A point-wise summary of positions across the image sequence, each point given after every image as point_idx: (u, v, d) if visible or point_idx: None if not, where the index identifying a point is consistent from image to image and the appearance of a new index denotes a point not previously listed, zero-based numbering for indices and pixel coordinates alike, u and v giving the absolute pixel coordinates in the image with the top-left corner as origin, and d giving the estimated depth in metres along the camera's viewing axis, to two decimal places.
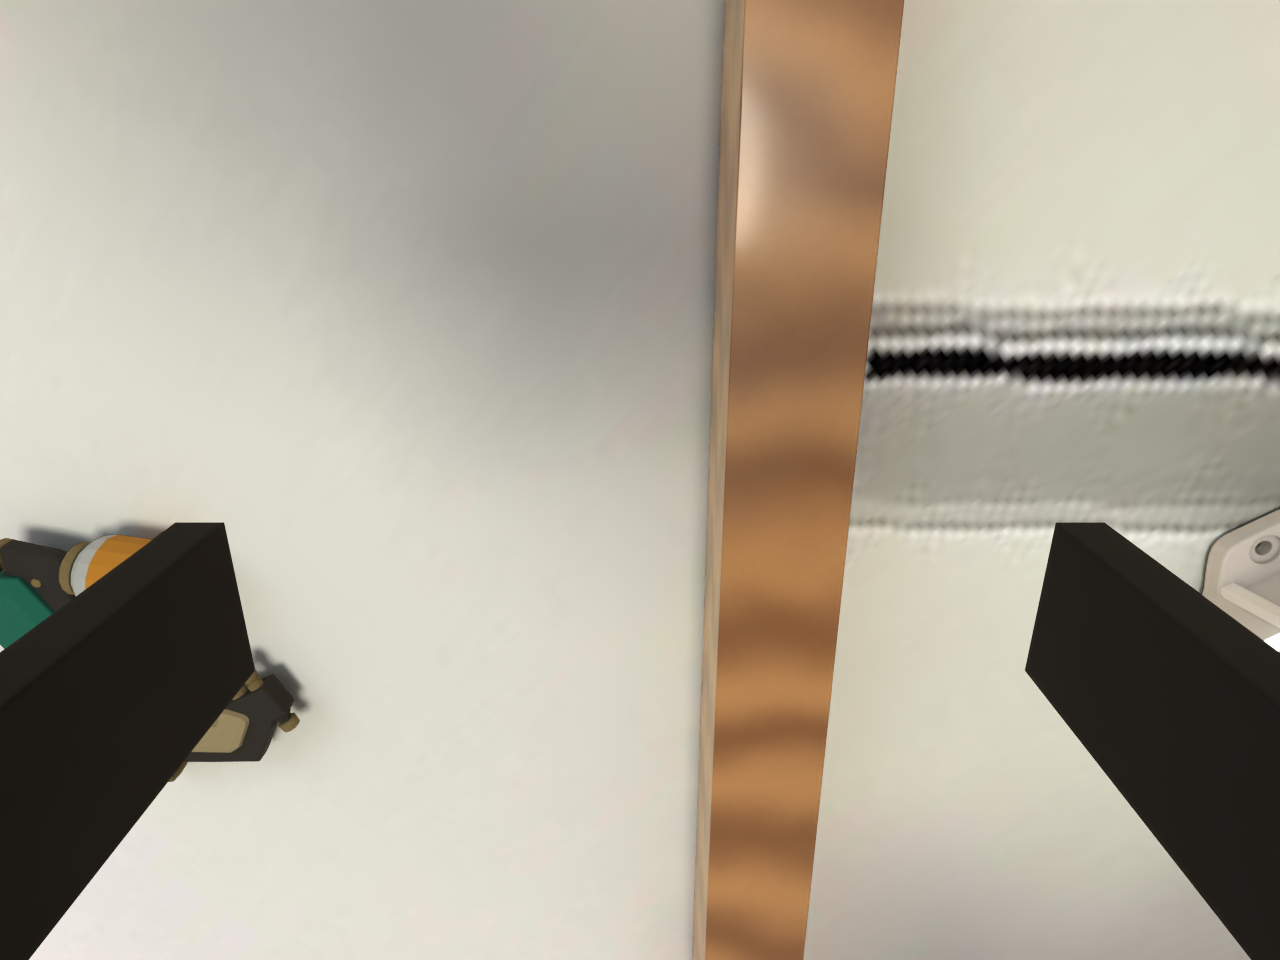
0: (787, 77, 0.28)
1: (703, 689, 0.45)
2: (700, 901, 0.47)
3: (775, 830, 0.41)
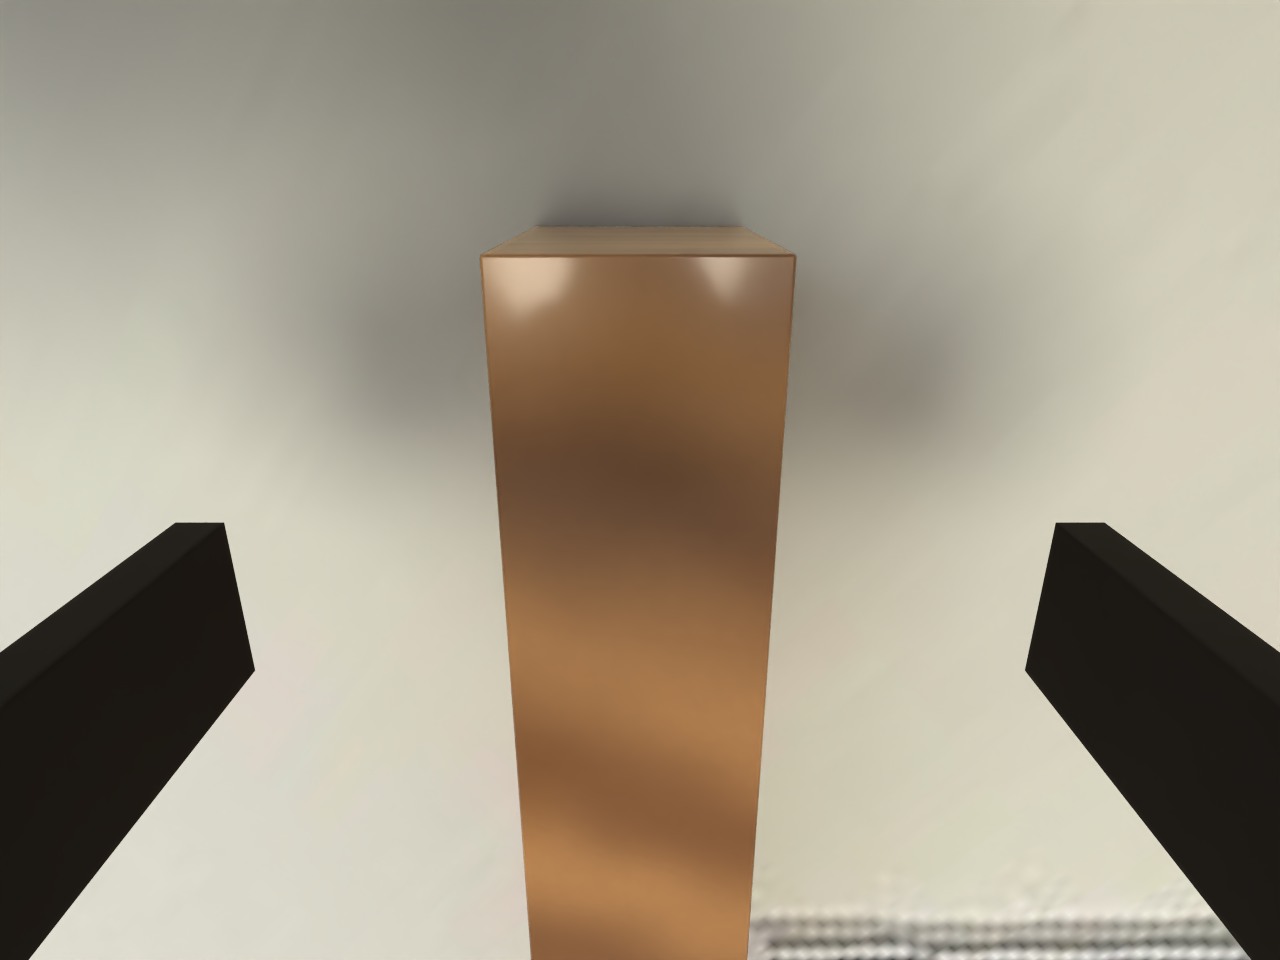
0: (593, 920, 0.20)
1: None
2: None
3: None
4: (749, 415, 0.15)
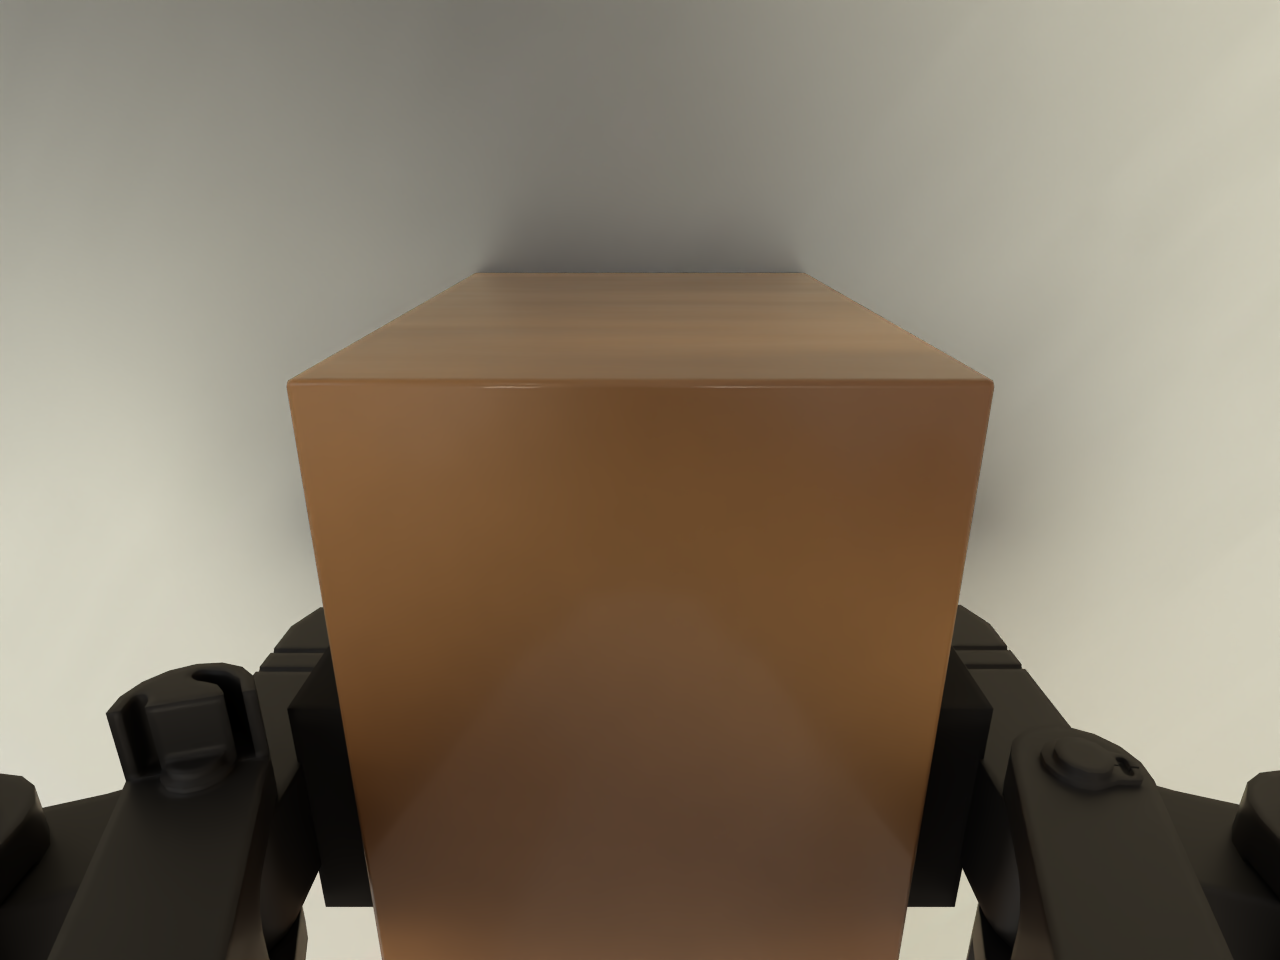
0: None
1: None
2: None
3: None
4: (869, 694, 0.07)
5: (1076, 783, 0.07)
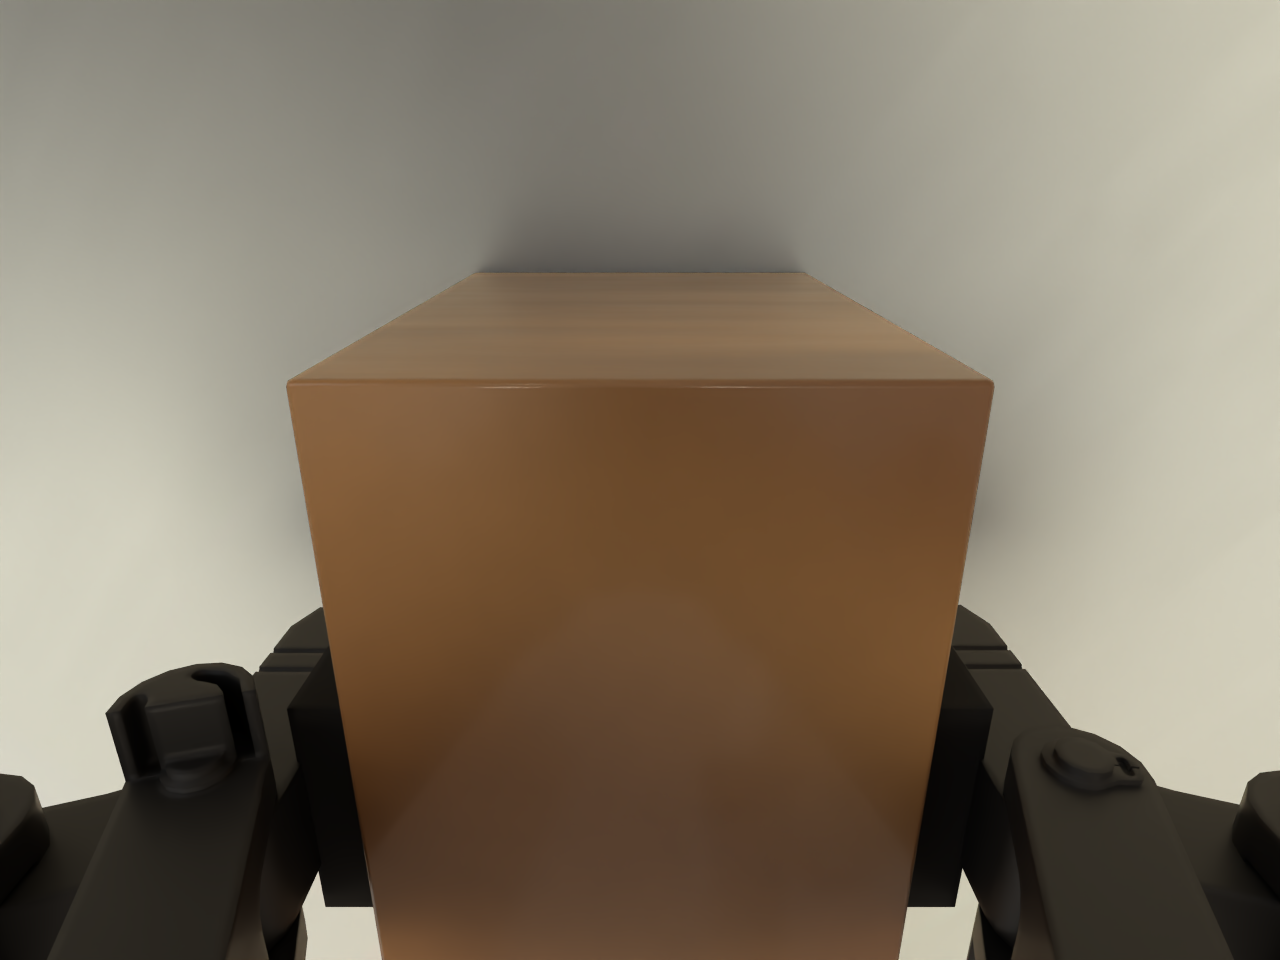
0: None
1: None
2: None
3: None
4: (869, 694, 0.07)
5: (1076, 783, 0.07)
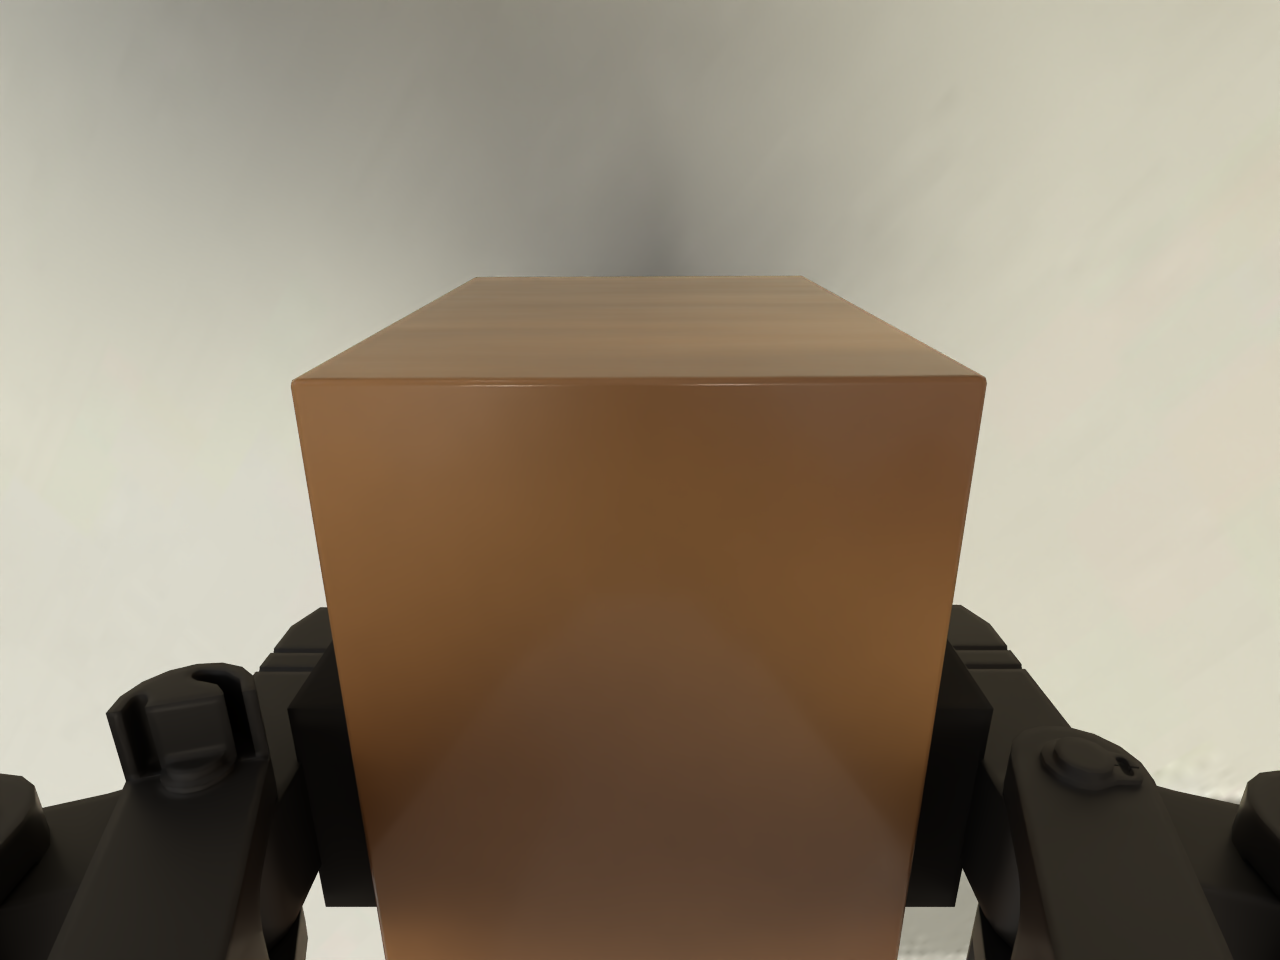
0: None
1: None
2: None
3: None
4: (867, 689, 0.07)
5: (1076, 783, 0.07)
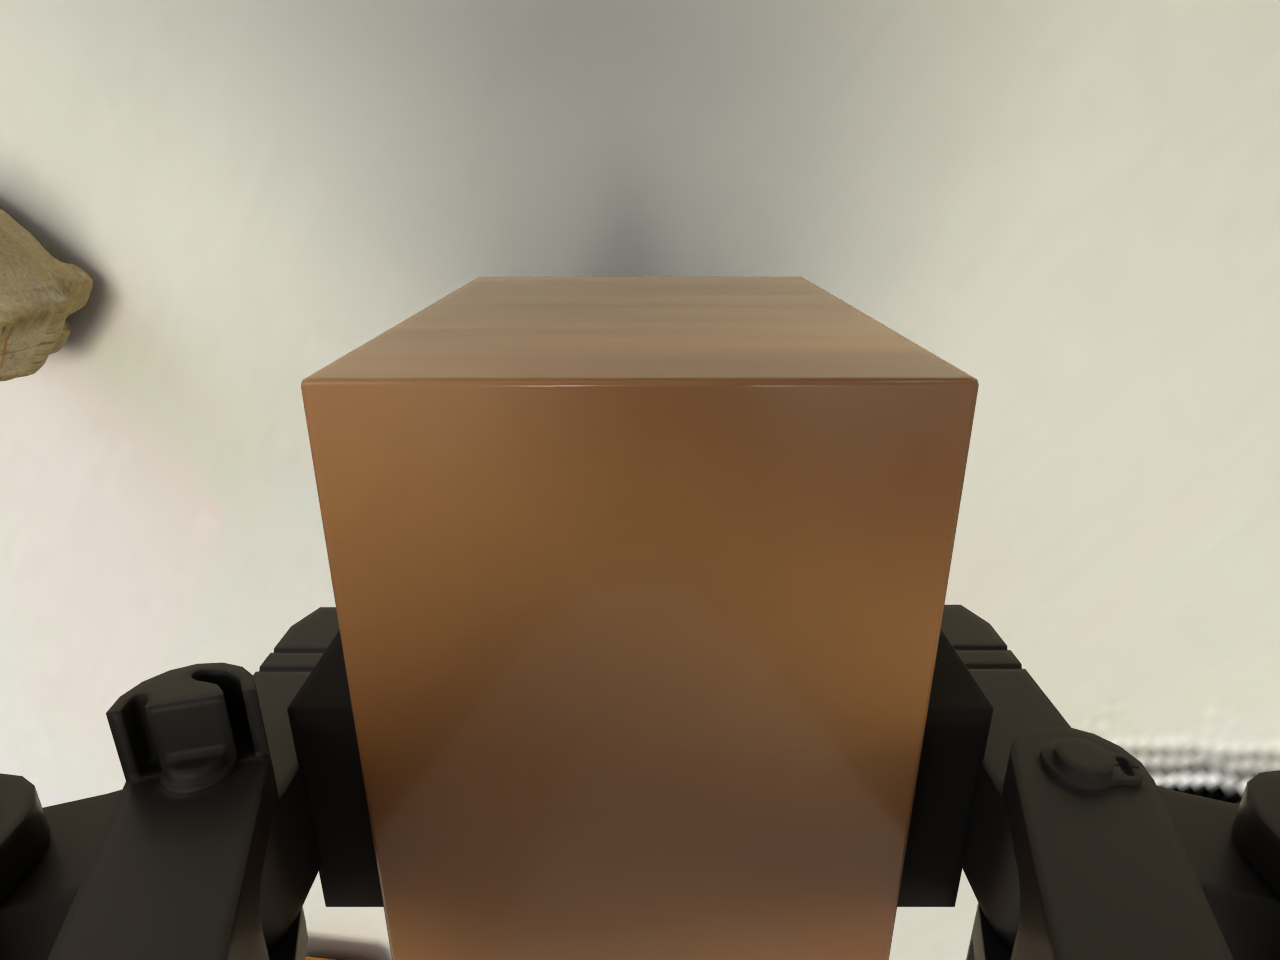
0: None
1: None
2: None
3: None
4: (862, 683, 0.07)
5: (1076, 783, 0.07)
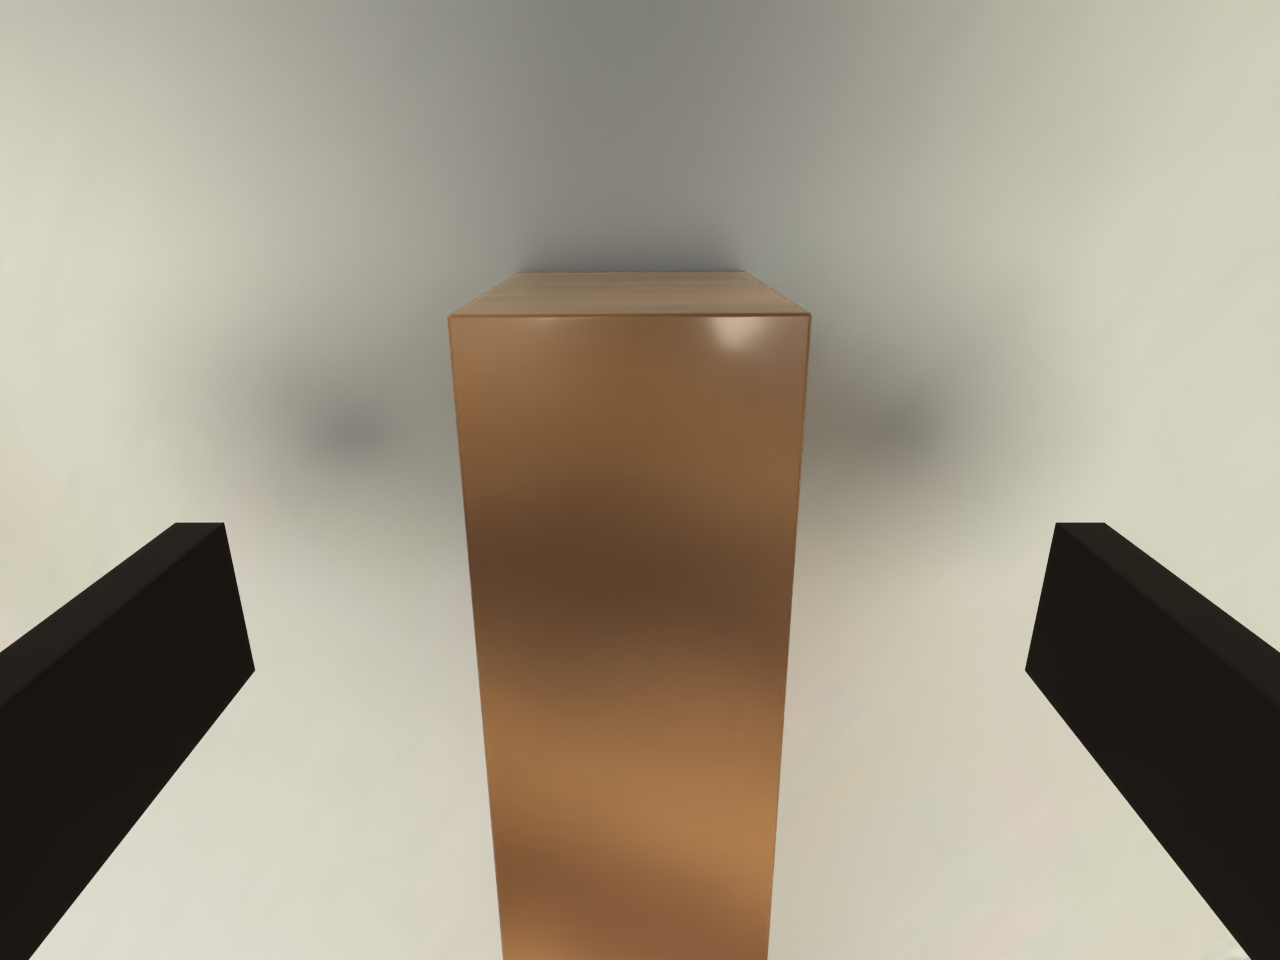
0: None
1: None
2: None
3: None
4: (758, 493, 0.13)
5: None
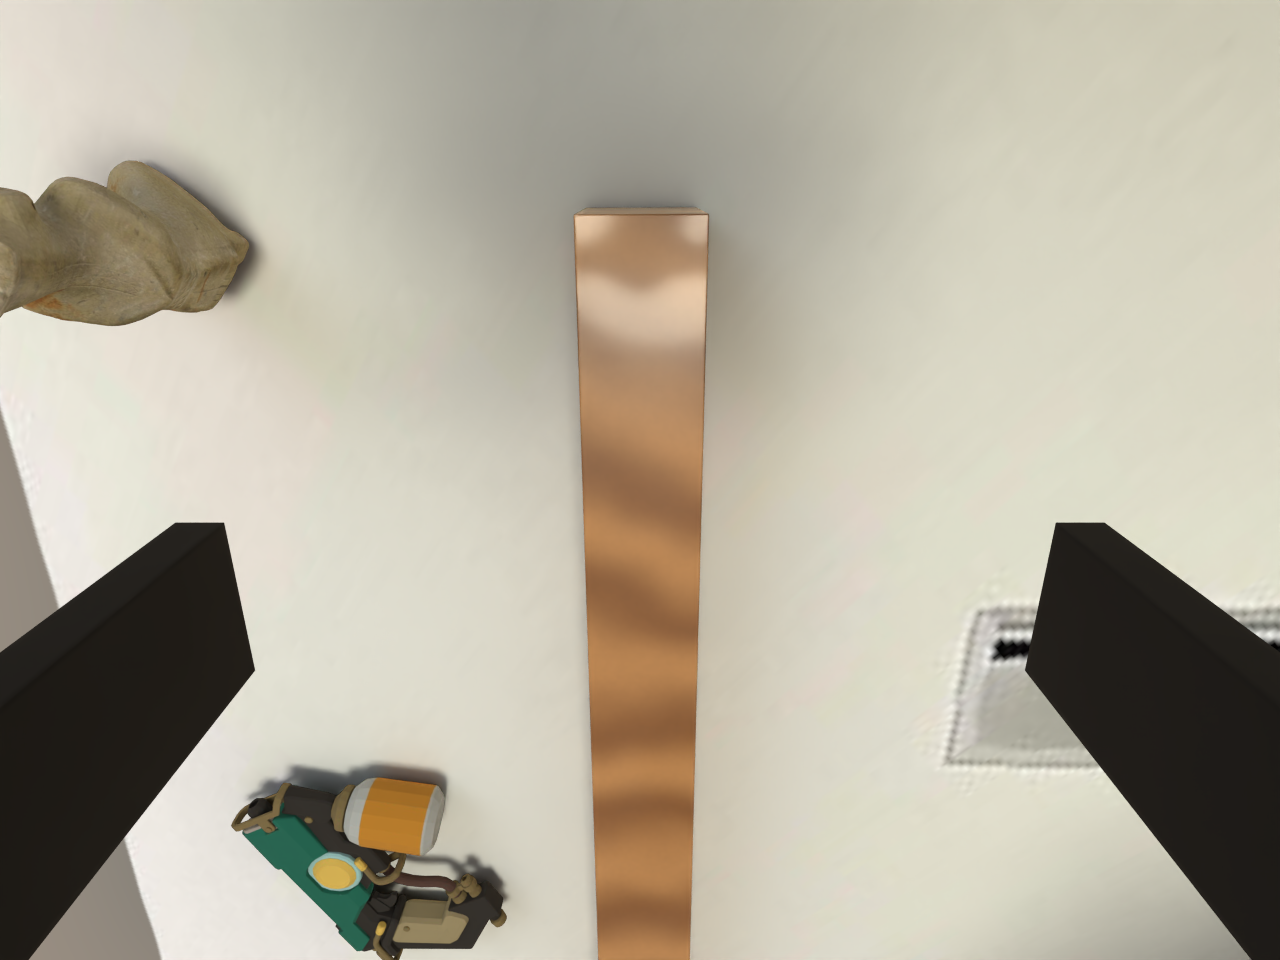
0: (619, 564, 0.38)
1: None
2: None
3: None
4: (690, 286, 0.33)
5: None
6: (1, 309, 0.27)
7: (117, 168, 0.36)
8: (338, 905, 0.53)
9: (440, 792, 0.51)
